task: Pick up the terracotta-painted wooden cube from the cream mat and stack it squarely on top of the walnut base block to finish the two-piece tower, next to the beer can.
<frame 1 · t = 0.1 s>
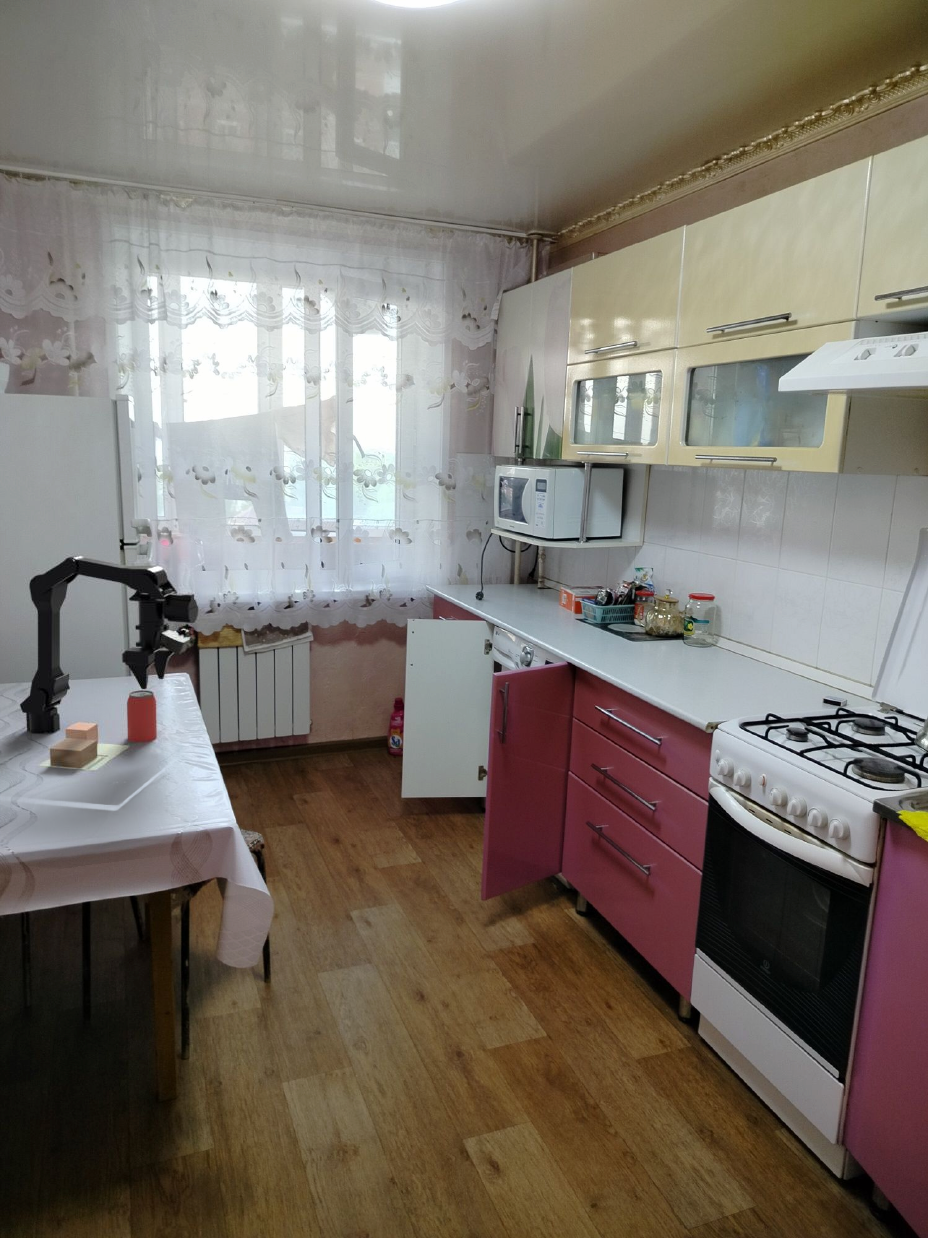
hand: (152, 683, 203), 15 cm above the table, fingers open, 9 cm apart
cream mat: (86, 758, 193), on the table
base block: (74, 761, 189), point 1 cm above the table, touching cream mat
beer can: (142, 741, 206), on the table
cube: (82, 746, 198), point 1 cm above the table, touching cream mat
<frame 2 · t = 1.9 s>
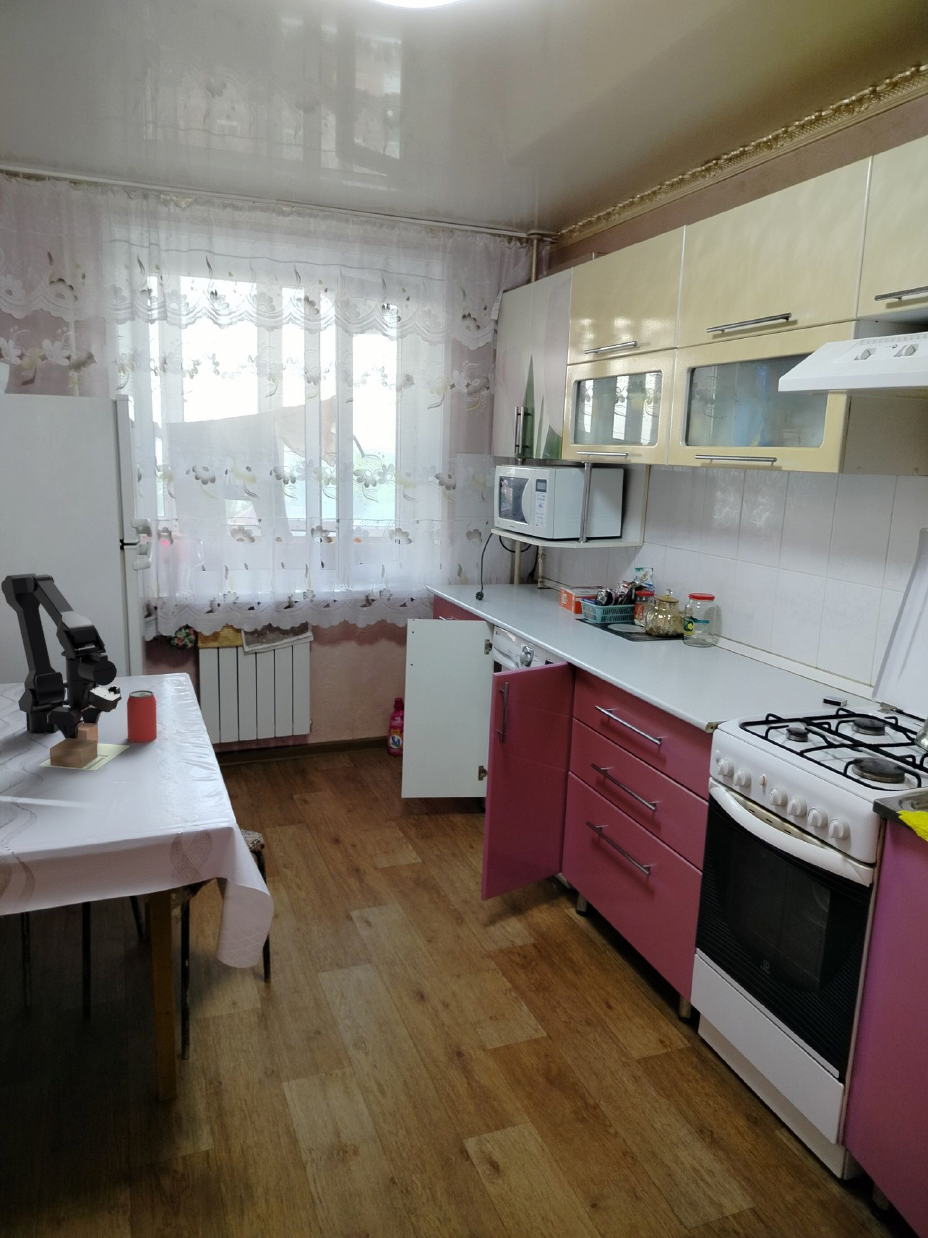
hand: (82, 742, 197), 2 cm above the table, fingers open, 7 cm apart
base block: (74, 761, 189), point 1 cm above the table, touching cream mat, gripper
everything else where it was.
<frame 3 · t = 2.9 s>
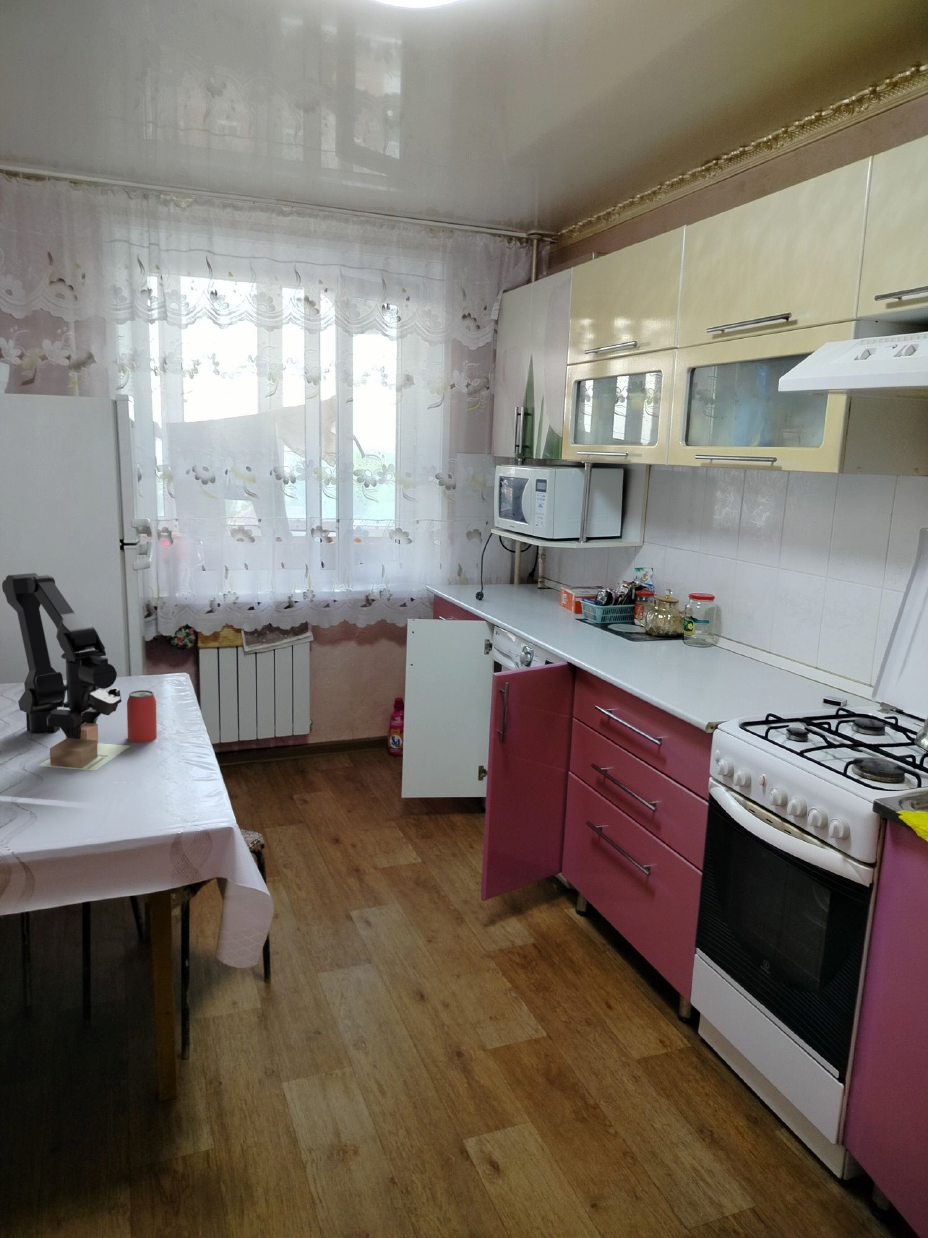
hand: (82, 744, 197), 1 cm above the table, fingers closed on cube, 5 cm apart
base block: (74, 761, 189), point 1 cm above the table, touching cream mat
cube: (82, 746, 198), point 1 cm above the table, touching cream mat, gripper
everything else where it was.
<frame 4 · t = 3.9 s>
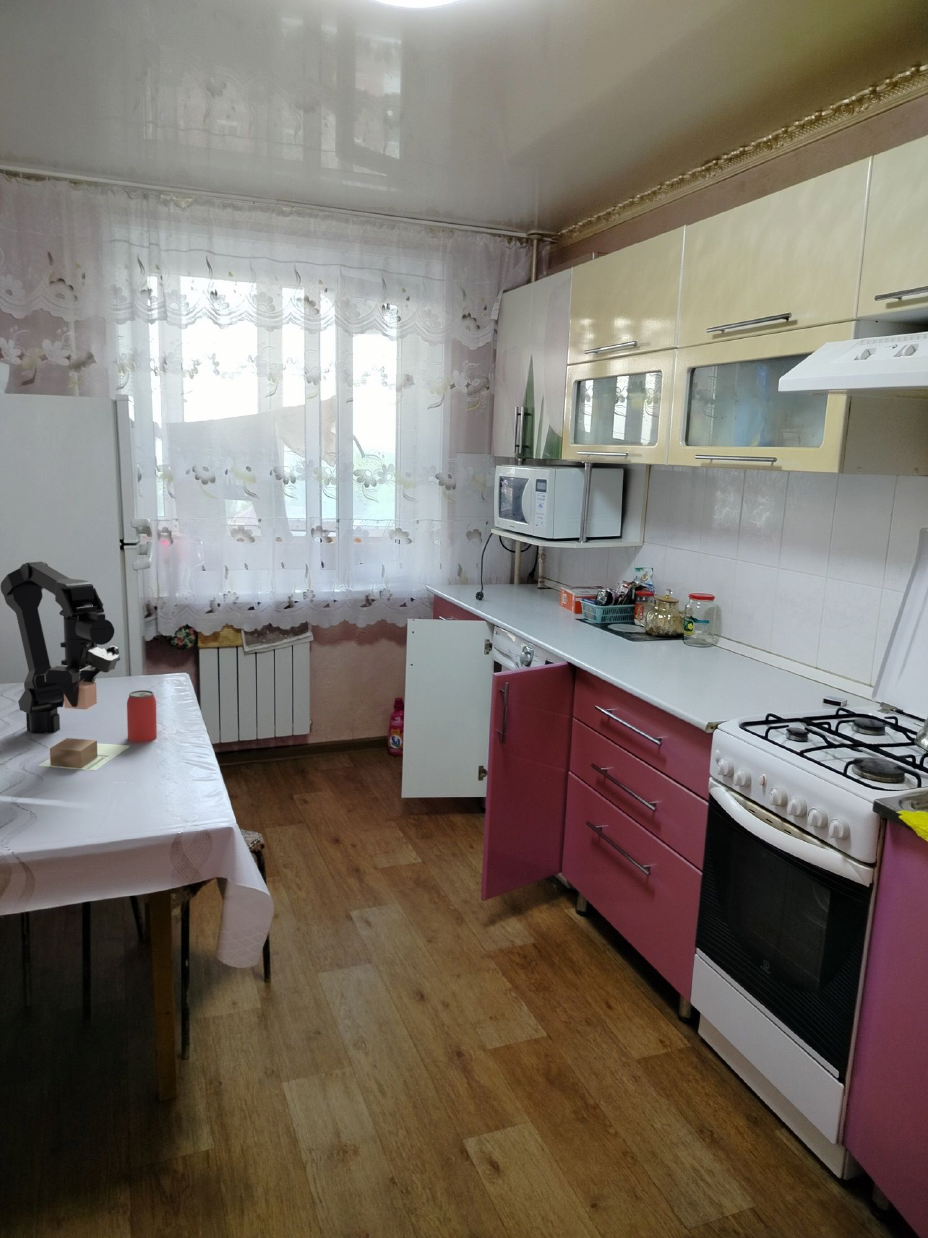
hand: (80, 703, 195), 12 cm above the table, fingers closed on cube, 5 cm apart
cube: (80, 705, 195), point 11 cm above the table, touching gripper
everything else where it was.
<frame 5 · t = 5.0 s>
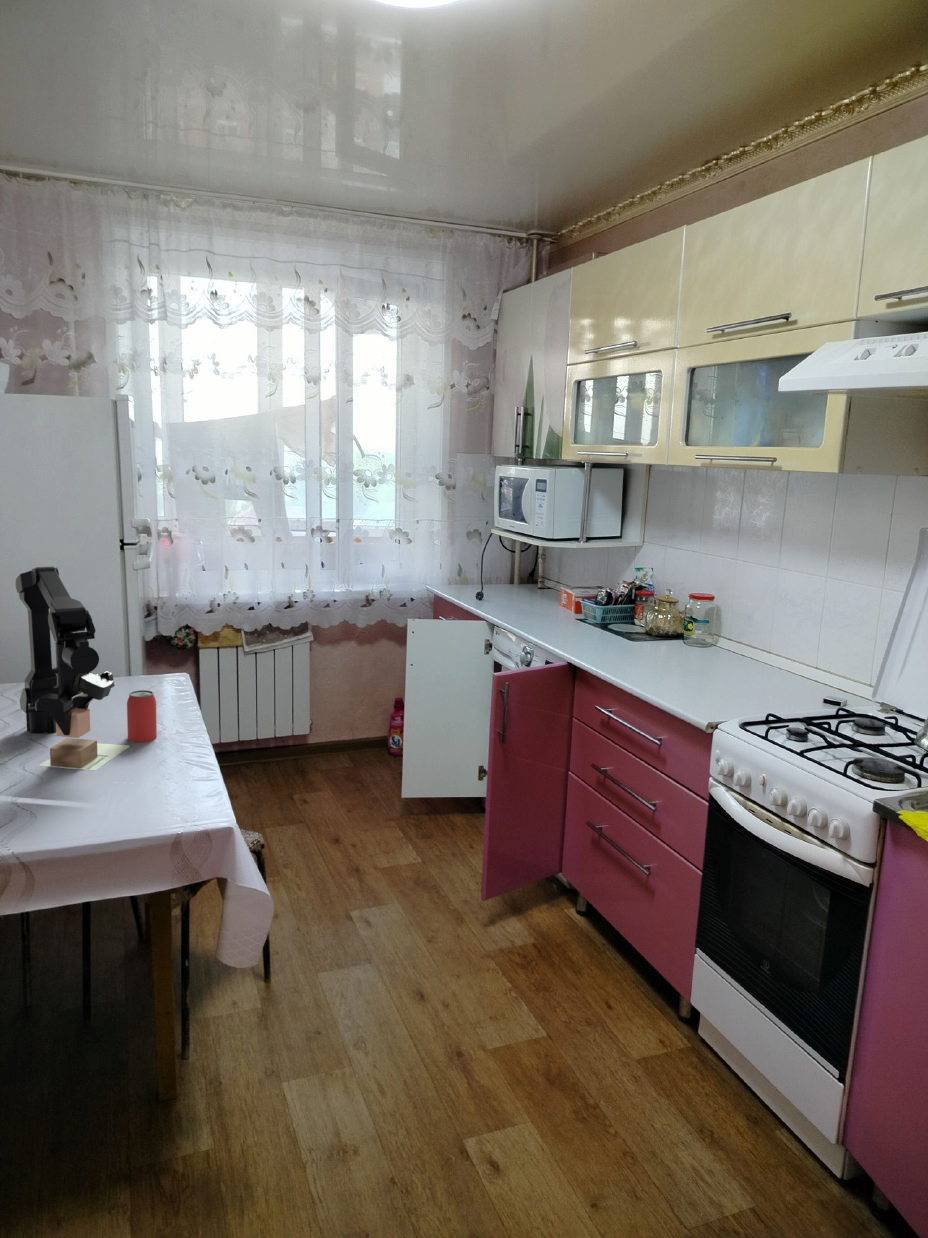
hand: (73, 731, 187), 8 cm above the table, fingers closed on cube, 5 cm apart
cube: (73, 733, 187), point 7 cm above the table, touching gripper
everything else where it was.
when the fingers open (7 cm above the table, at t = 5.6 s): cube drops 1 cm, resting on base block.
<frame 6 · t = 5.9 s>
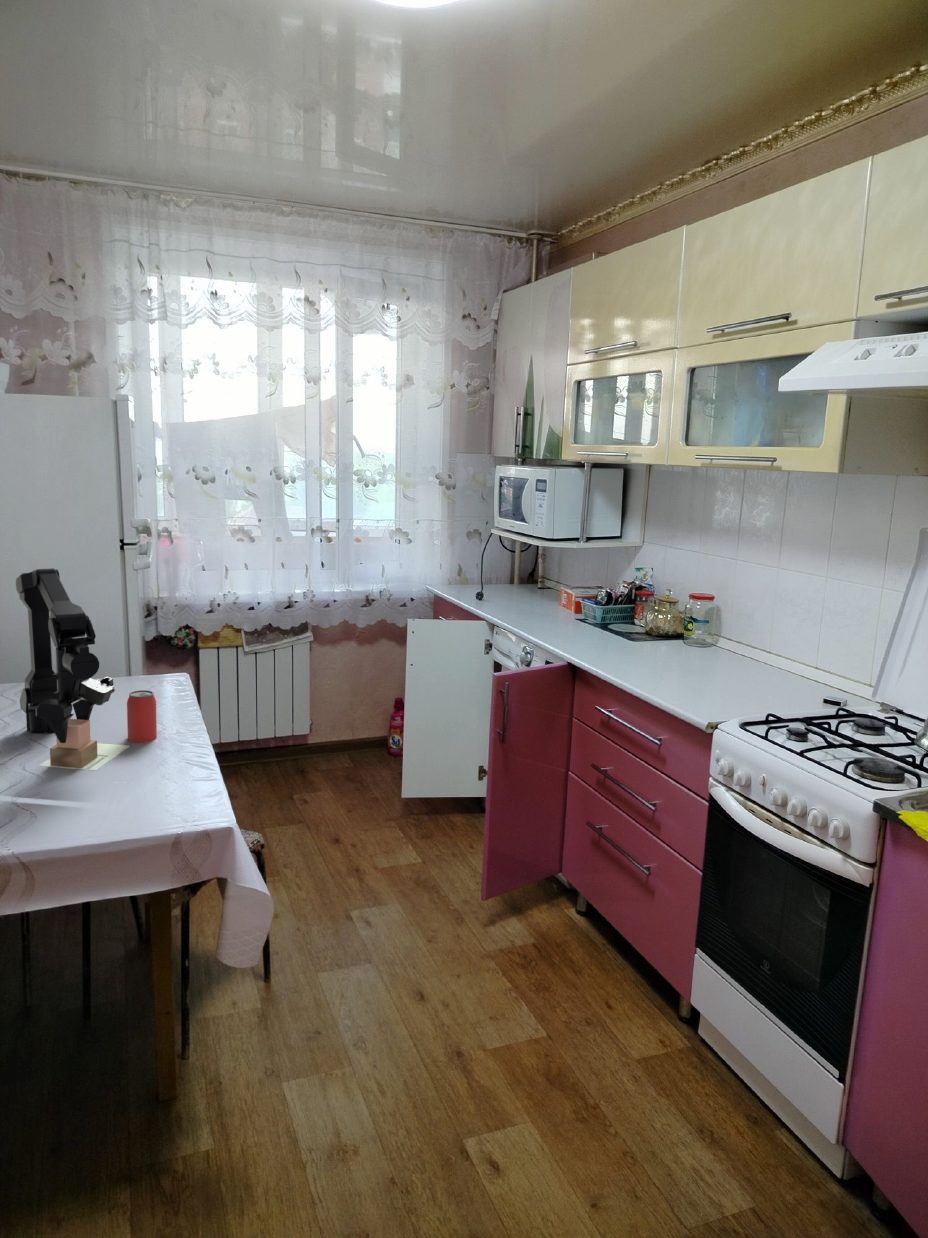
hand: (73, 736, 187), 7 cm above the table, fingers open, 8 cm apart
base block: (74, 761, 189), point 1 cm above the table, touching cream mat, cube
cube: (73, 744, 188), point 5 cm above the table, touching base block
everything else where it was.
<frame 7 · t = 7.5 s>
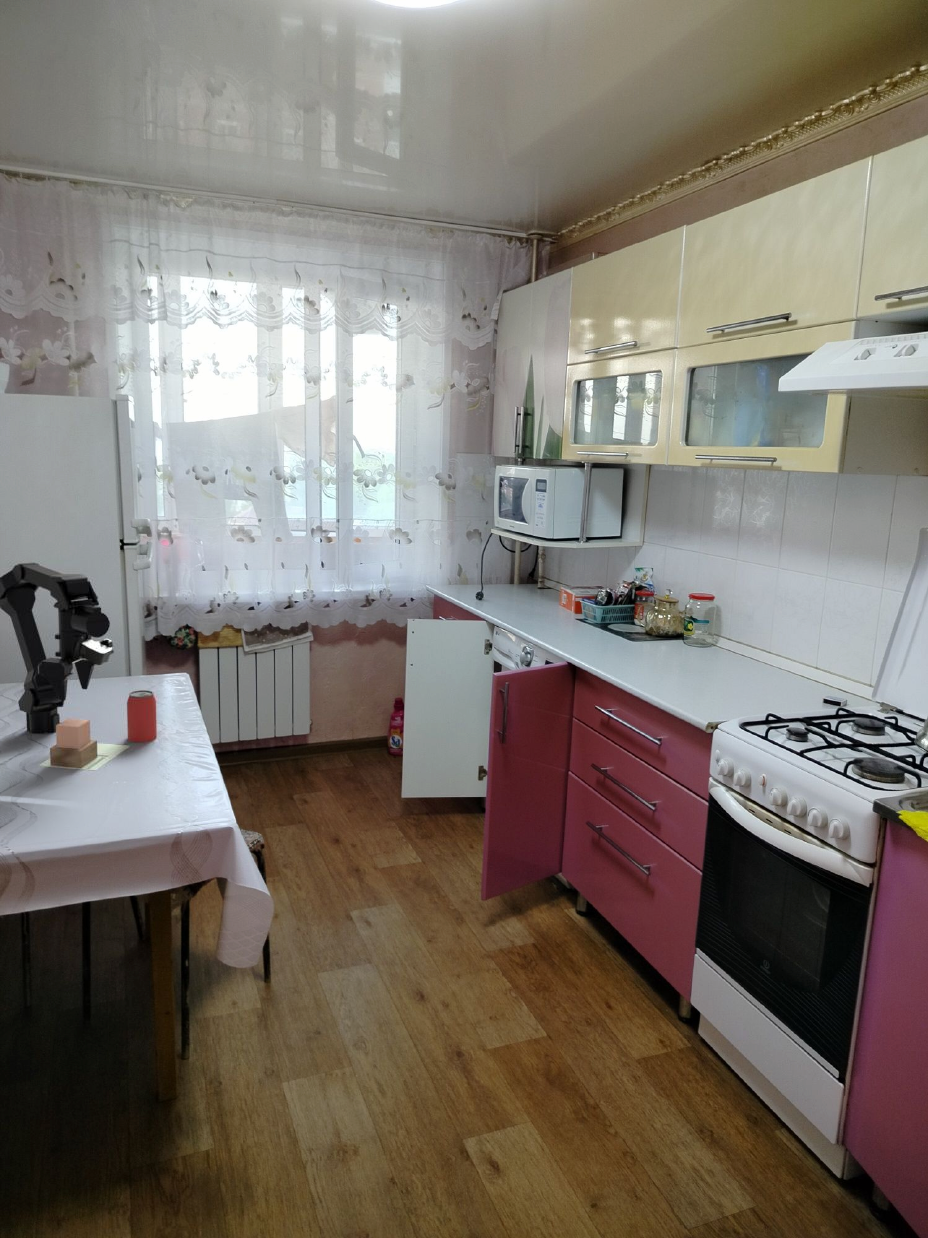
hand: (74, 694, 197), 13 cm above the table, fingers open, 9 cm apart
nothing on the table moved.
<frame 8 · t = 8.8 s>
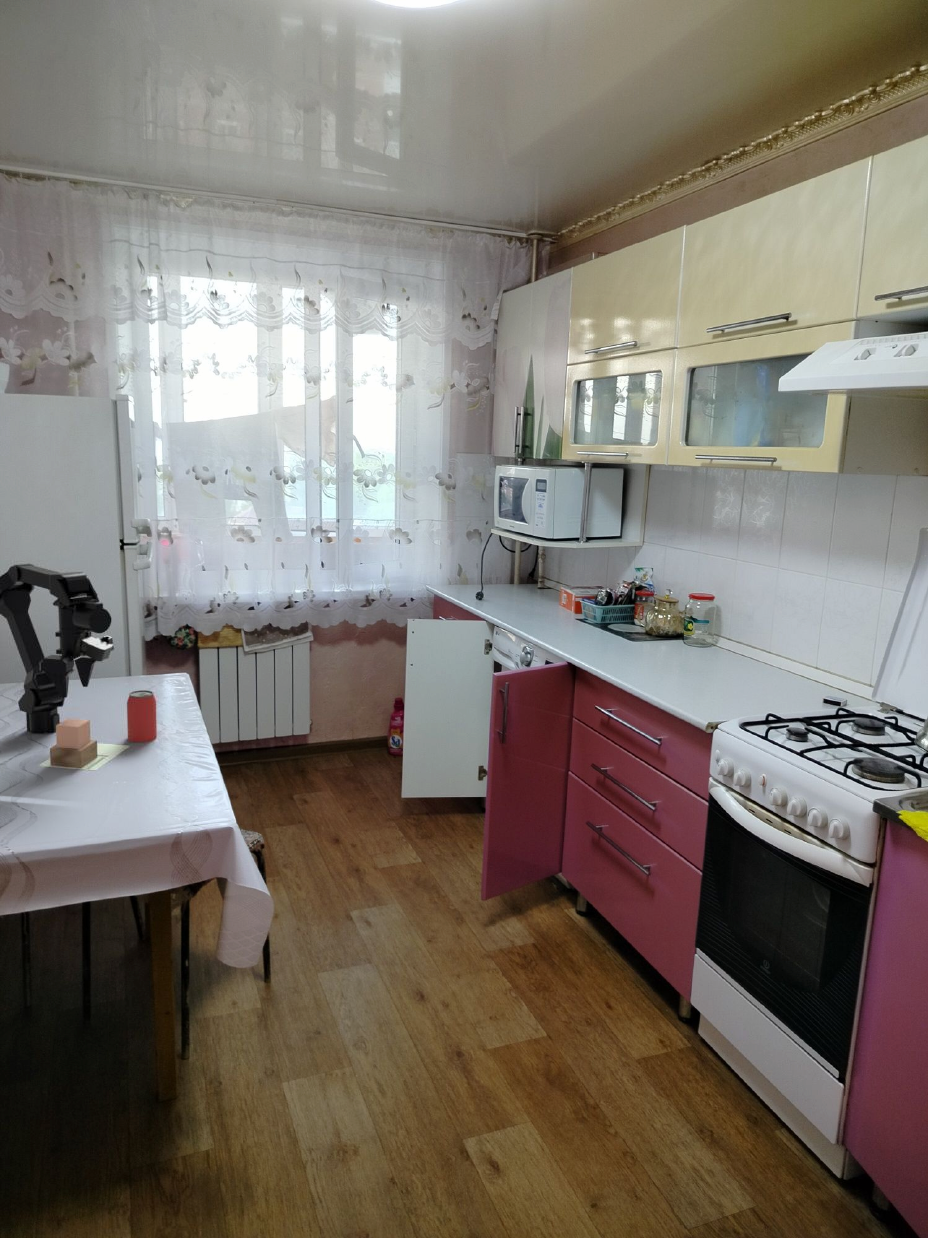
hand: (75, 692, 198), 13 cm above the table, fingers open, 9 cm apart
nothing on the table moved.
at the end: cube 0.0 cm off-centre on the base block, point 4.0 cm above the base block's base; cube tilted 0°; base block moved 0.0 cm from its start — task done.
